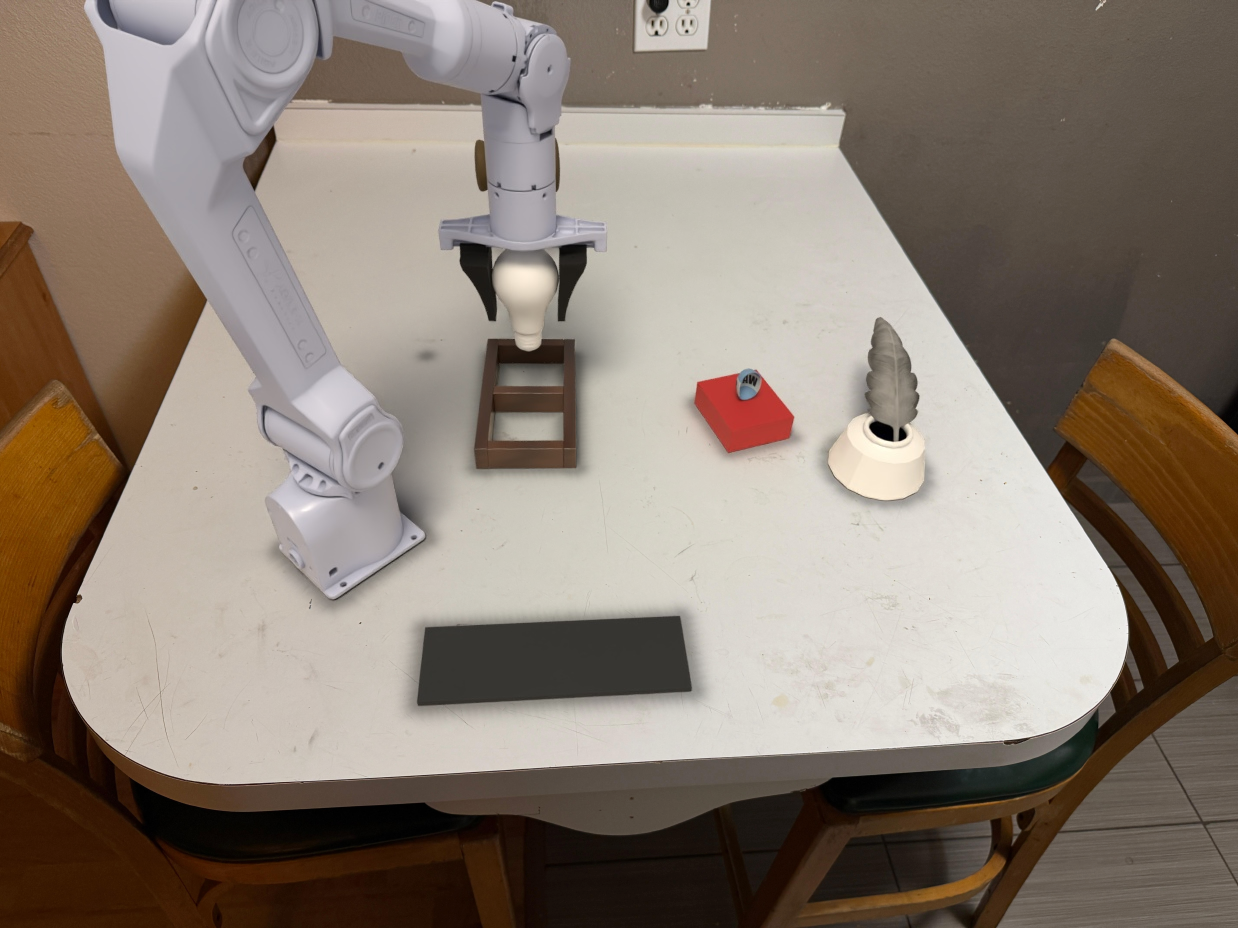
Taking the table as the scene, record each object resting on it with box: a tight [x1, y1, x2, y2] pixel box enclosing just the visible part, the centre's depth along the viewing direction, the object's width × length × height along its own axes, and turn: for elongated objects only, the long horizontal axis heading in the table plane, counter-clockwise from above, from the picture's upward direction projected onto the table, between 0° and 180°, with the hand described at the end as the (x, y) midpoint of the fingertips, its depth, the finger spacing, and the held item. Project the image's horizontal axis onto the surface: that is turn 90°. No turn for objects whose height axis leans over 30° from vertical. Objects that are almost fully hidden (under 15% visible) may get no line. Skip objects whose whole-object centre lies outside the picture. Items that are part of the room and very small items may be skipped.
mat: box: [416, 615, 693, 707], centre depth 62 cm, size 20×6×1 cm, turn 95°
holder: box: [473, 338, 577, 469], centre depth 82 cm, size 9×18×2 cm, turn 3°
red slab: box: [693, 368, 795, 453], centre depth 81 cm, size 8×7×6 cm
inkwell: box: [827, 316, 926, 501], centre depth 79 cm, size 9×18×10 cm, turn 178°
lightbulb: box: [492, 248, 559, 351], centre depth 76 cm, size 6×6×11 cm
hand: (527, 315), depth 77 cm, fingers closed on lightbulb, 6 cm apart
